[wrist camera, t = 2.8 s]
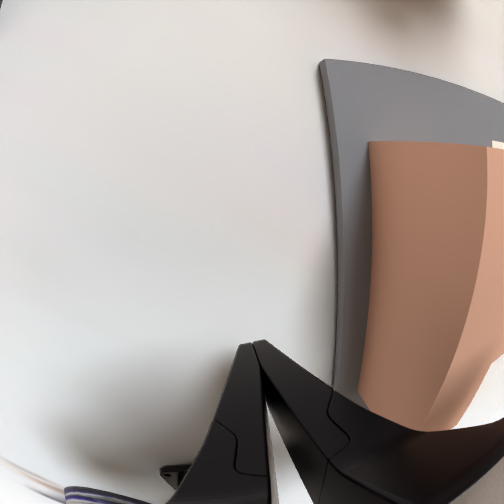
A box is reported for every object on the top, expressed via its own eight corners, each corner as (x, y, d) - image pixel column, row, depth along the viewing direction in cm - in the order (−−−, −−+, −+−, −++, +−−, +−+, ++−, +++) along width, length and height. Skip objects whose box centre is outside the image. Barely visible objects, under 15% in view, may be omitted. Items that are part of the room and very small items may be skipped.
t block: (477, 329, 14) (522, 366, 9) (357, 390, 13) (401, 459, 8) (503, 151, 10) (570, 165, 5) (368, 141, 9) (486, 146, 4)
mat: (521, 311, 17) (524, 313, 16) (329, 421, 14) (332, 427, 14) (543, 125, 11) (547, 126, 10) (319, 62, 8) (324, 58, 7)
